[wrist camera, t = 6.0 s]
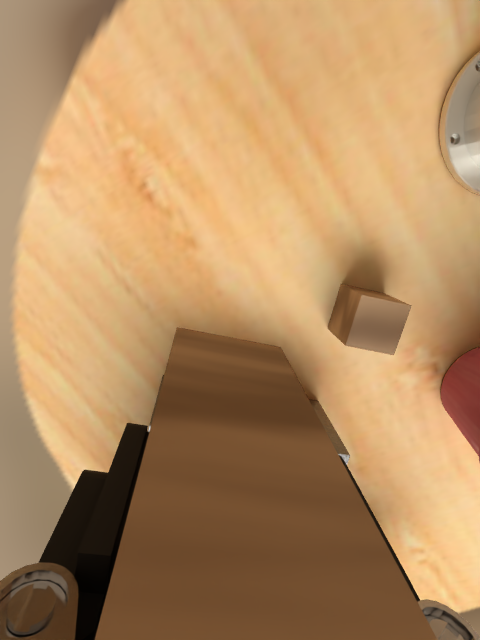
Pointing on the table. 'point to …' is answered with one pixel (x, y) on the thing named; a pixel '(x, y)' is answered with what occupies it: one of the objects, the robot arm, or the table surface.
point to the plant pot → (464, 396)
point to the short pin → (368, 319)
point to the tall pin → (249, 516)
